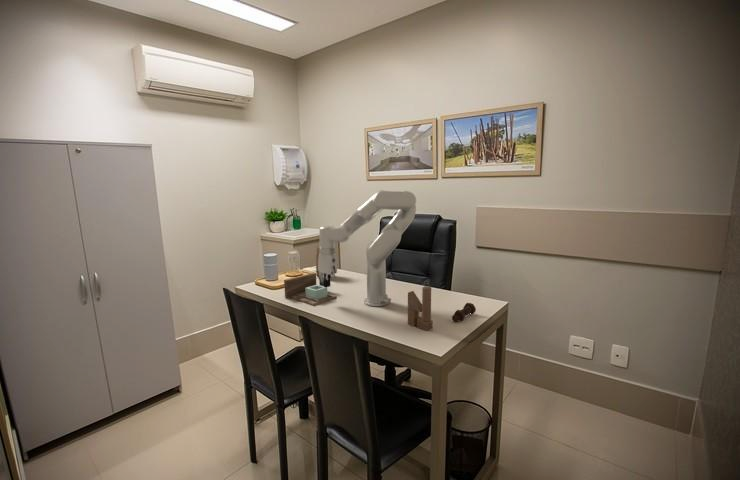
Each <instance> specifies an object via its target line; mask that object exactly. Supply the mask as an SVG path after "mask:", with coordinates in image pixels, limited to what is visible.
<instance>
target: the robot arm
mask: <svg viewBox="0 0 740 480" xmlns="http://www.w3.org/2000/svg"><path fill="white" fill-rule="evenodd" d="M416 203H417V198H416V196H415V194H414V193H413V192H411V191H408V190H403V191H398V190H397V191H390V190H382V189H381V190H379V191H377V192H376V193H374V194H373V195H372V196H370V198H368V199H367V200H366V201H365V202H364V203H363V204H362V205H361V206H360V207H358V208H357V210H355V211H354V213H352V215H350V216H349V217H348V218H347V219H346V220H344V222H342V223H341V224H340V225H339V226H337V227H334V226H330V225H323V226H321V227H320V228H319V247H320V253H319V258H318V271H319V273H320V274H321V275H322V276H323V279H324V287H327V288H330V287H331V280H332V278H334V277H336V274H338V259H337V255H336V246H335V243H336V242H337V243H345V242H347V241H348V240H349V239H350V237H351V236H352V235H353V234H354V233H355V232H356V231H358V230H359V229H360V228H361V227H363V226H365V225H367V224H368V223H370V222H371V221H372V220H373V219H375V218H376V217H377V216H378V215H379V214H381V213H382V212H383V211H384V210H394V211H395V210H397V212H396V213H395V214H394V216H393V217H392V219H391V220H390V221H389V222H388V223H387V224H386V225H385V226H384V227H383V228H382V230H380V231H381V232H380V234H379V235H378V237H376V239H375V240H374V241H371V242H369V244H367V247H366V249H365V250H366V251H365V254H366V298H365V299H364V300H363V303H364V304H365V305H366V306H368V307H384V306H386V305H389V304H390V303H391V301H392V298H390V297H389V296H388V294H387V291H386V289H387V288H386V285H387V283H386V282H387V279H386V278H387V277H386V276H387V273H386V272H387V271H386V270H387V269H386V268H387V265H386V263H387V262H386V259H387V258H388V257H390V254H391V253H392V252H393V251H394V250H395V249H396V248H397V247H398V245H399V244H400V242H401V239H402V235H403V233H404V232H405V231H406V230H407V228H408V227H409V226H410V224H412V222H413V221H414V219H415V216H416V211H417V208H416V207H417V206H416V205H417V204H416ZM328 275H329V276H328Z"/></svg>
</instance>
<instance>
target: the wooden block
mask: <svg viewBox="0 0 740 480" xmlns="http://www.w3.org/2000/svg"><path fill="white" fill-rule="evenodd" d="M421 293H422V294H421V297H422V300H421V301H420V299H419V297H418V296H417V294H416V293H415V291H414V290H412V291H408V292H407V325H409V324H410V325H409V326H411V327H415V326H416V327H417V328H418V329H421V330H423V329H424V331H426V330H427V332H428V330H429V331H430V329H431V330H433V327H434V326H433V320H431V319H432V287H431V286H429V285H428V286H427V285H425V286H422V292H421ZM420 313H421V316H420Z"/></svg>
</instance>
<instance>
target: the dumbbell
mask: <svg viewBox="0 0 740 480" xmlns="http://www.w3.org/2000/svg"><path fill="white" fill-rule="evenodd" d="M476 310H477V309H476V306H475V305H474V304H473V303H472V302H466V303H465V305H464V306H463V307H462V309H456V310H455V312H454V313H453V314H452V316H451V320H452V321H453V322H454V321H455V323H457V322H459V320H462V321H464V319H465V318H466V316H468V315H470V313H471V314H473V313H474V314H475V313H476ZM474 314H473V315H474Z"/></svg>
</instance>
